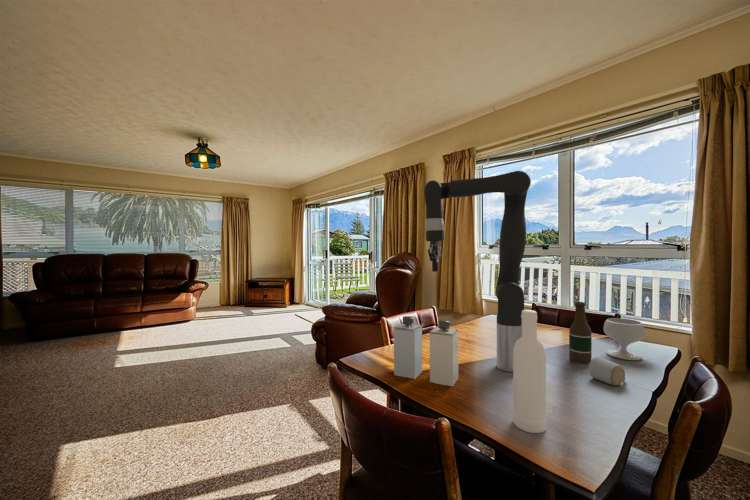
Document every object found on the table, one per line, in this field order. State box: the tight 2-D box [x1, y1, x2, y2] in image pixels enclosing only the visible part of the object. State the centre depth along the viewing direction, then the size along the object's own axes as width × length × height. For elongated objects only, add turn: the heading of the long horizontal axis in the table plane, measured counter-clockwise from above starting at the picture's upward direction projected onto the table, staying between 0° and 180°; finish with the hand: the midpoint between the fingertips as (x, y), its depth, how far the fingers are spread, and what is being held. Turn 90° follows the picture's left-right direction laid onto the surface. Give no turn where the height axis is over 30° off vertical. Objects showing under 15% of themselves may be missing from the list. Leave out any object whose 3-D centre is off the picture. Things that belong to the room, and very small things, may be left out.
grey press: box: [393, 322, 423, 380], centre depth 118 cm, size 8×8×18 cm
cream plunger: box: [437, 319, 451, 332], centre depth 112 cm, size 6×6×15 cm
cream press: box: [429, 326, 459, 388], centre depth 112 cm, size 8×8×18 cm
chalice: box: [603, 317, 646, 361], centre depth 135 cm, size 14×14×15 cm
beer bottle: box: [568, 301, 593, 365], centre depth 130 cm, size 8×8×24 cm
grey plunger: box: [402, 315, 415, 327], centre depth 118 cm, size 6×6×15 cm
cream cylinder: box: [588, 356, 626, 387], centre depth 110 cm, size 11×8×8 cm
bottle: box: [512, 309, 547, 434], centre depth 83 cm, size 8×8×30 cm
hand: (435, 271), depth 133 cm, fingers closed
